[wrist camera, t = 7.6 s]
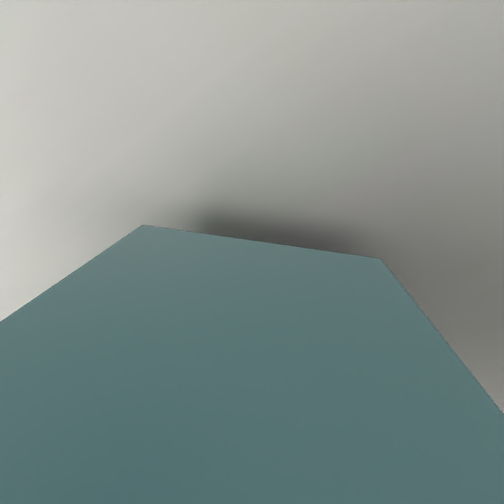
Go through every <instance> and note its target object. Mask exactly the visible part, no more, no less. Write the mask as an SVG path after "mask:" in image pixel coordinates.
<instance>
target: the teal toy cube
mask: <svg viewBox="0 0 504 504" xmlns="http://www.w3.org/2000/svg"><path fill="white" fill-rule="evenodd" d="M0 504H504V414H503V413H502V411H501V410H500V409H499V408H498V406H497V405H496V404H495V403H494V401H493V400H492V399H491V398H490V396H489V395H488V394H487V393H486V391H485V390H484V389H483V387H482V386H481V385H480V384H479V382H478V381H477V380H476V379H475V377H474V376H473V375H472V374H471V372H470V371H469V370H468V368H467V367H466V366H465V365H464V363H463V362H462V361H461V360H460V358H459V357H458V356H457V355H456V353H455V352H454V351H453V349H452V348H451V347H450V346H449V344H448V343H447V342H446V341H445V339H444V338H443V337H442V336H441V334H440V333H439V332H438V331H437V329H436V328H435V327H434V325H433V324H432V323H431V322H430V320H429V319H428V318H427V317H426V315H425V314H424V313H423V312H422V310H421V309H420V308H419V306H418V305H417V304H416V303H415V301H414V300H413V299H412V298H411V296H410V295H409V294H408V293H407V291H406V290H405V289H404V288H403V286H402V285H401V284H400V282H399V281H398V280H397V279H396V277H395V276H394V275H393V274H392V272H391V271H390V270H389V269H388V267H387V266H386V265H385V263H384V262H383V261H382V260H381V259H379V258H372V257H365V256H358V255H351V254H344V253H337V252H330V251H323V250H316V249H309V248H302V247H295V246H288V245H281V244H273V243H266V242H259V241H252V240H245V239H238V238H231V237H224V236H217V235H210V234H203V233H196V232H189V231H182V230H175V229H168V228H161V227H154V226H147V225H142V226H140V227H139V228H137V229H136V230H134V231H133V232H131V233H130V234H128V235H127V236H125V237H124V238H122V239H121V240H120V241H118V242H117V243H115V244H114V245H112V246H111V247H109V248H108V249H106V250H105V251H103V252H102V253H101V254H99V255H98V256H96V257H95V258H93V259H92V260H90V261H89V262H87V263H86V264H84V265H83V266H81V267H80V268H79V269H77V270H76V271H74V272H73V273H71V274H70V275H68V276H67V277H65V278H64V279H62V280H61V281H59V282H58V283H57V284H55V285H54V286H52V287H51V288H49V289H48V290H46V291H45V292H43V293H42V294H40V295H39V296H37V297H36V298H35V299H33V300H32V301H30V302H29V303H27V304H26V305H24V306H23V307H21V308H20V309H18V310H17V311H15V312H14V313H13V314H11V315H10V316H8V317H7V318H5V319H4V320H2V321H1V322H0Z"/></svg>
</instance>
